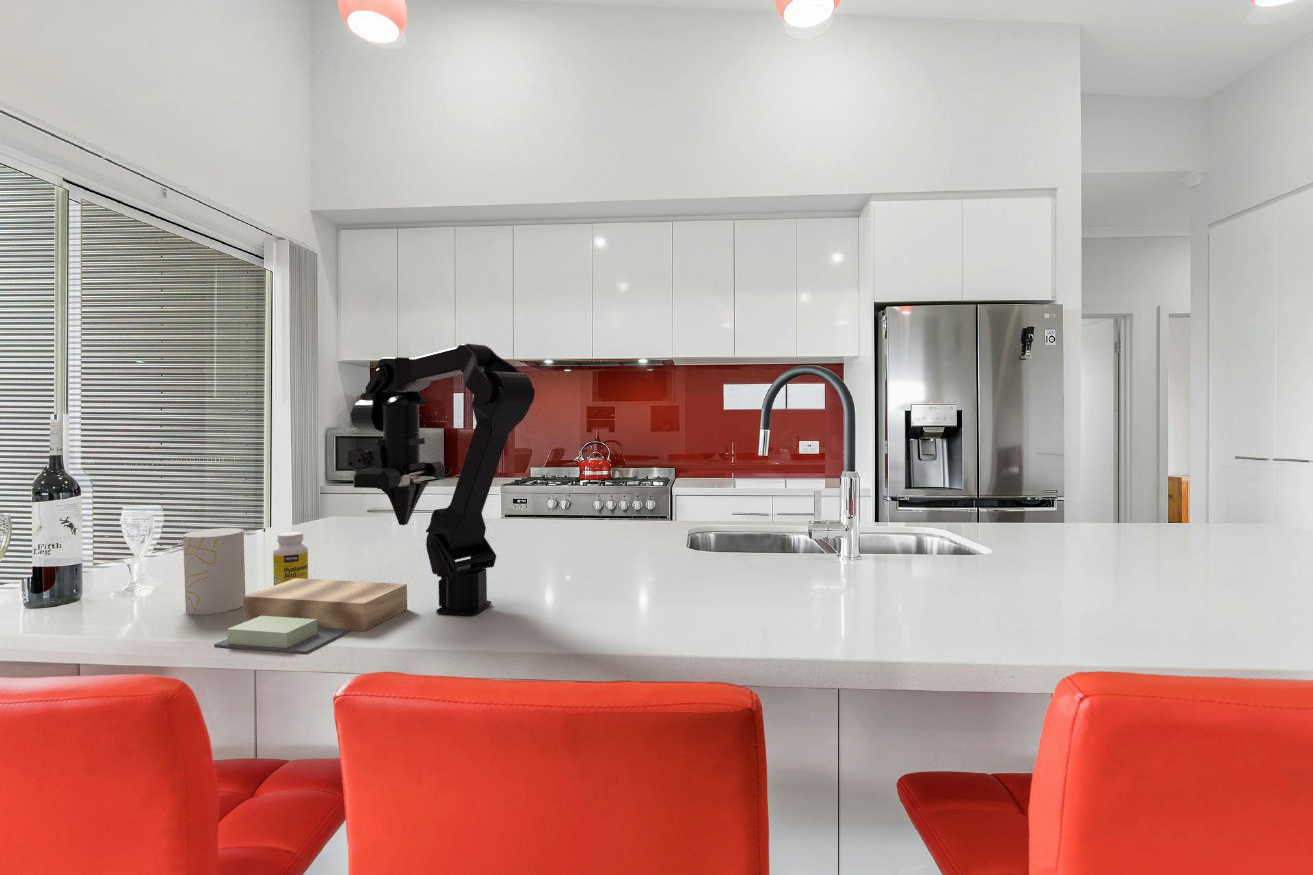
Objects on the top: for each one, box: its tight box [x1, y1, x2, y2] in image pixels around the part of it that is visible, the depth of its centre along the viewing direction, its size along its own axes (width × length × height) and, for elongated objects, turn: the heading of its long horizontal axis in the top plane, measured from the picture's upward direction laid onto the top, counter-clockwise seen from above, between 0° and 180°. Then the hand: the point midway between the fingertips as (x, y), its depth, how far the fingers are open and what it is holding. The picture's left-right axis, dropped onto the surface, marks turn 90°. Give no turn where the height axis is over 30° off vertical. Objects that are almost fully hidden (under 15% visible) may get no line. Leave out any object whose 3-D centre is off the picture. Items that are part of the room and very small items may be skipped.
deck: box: [242, 578, 408, 632], centre depth 106 cm, size 20×11×4 cm, turn 79°
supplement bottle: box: [272, 531, 309, 586], centre depth 122 cm, size 5×5×10 cm
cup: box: [182, 527, 246, 615], centre depth 111 cm, size 8×8×12 cm
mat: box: [213, 627, 351, 654], centre depth 96 cm, size 14×9×1 cm, turn 79°
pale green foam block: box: [226, 616, 318, 648], centre depth 95 cm, size 9×6×2 cm, turn 79°
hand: (403, 524), depth 117 cm, fingers closed
